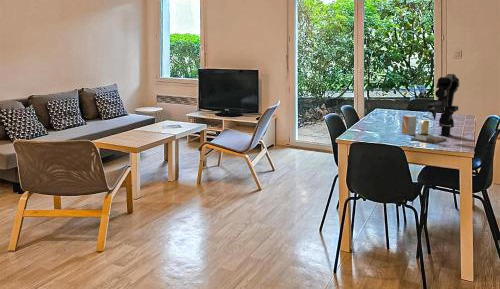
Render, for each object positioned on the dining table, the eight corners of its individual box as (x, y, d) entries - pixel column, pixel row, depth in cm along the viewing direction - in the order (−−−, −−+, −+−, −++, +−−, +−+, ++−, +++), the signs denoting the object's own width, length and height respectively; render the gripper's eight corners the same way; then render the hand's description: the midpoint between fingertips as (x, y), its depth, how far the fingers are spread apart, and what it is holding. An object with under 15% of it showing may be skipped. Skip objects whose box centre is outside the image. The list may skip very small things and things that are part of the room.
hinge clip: (421, 137, 303) (422, 132, 302) (432, 139, 297) (432, 134, 296) (415, 138, 298) (415, 134, 297) (426, 140, 292) (426, 136, 291)
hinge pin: (424, 138, 300) (425, 120, 297) (428, 139, 296) (430, 121, 293) (418, 138, 299) (420, 120, 296) (423, 139, 295) (424, 121, 292)
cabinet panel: (424, 136, 310) (424, 135, 310) (446, 140, 298) (446, 138, 298) (410, 139, 301) (411, 138, 300) (433, 143, 288) (433, 141, 288)
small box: (401, 133, 324) (402, 115, 321) (409, 132, 325) (410, 114, 322) (407, 135, 316) (408, 116, 313) (415, 134, 317) (416, 116, 315)
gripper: (423, 96, 296) (422, 120, 299) (452, 98, 282) (450, 123, 285) (431, 95, 303) (429, 118, 306) (459, 97, 289) (457, 121, 293)
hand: (441, 120), depth 297 cm, fingers open, 9 cm apart
